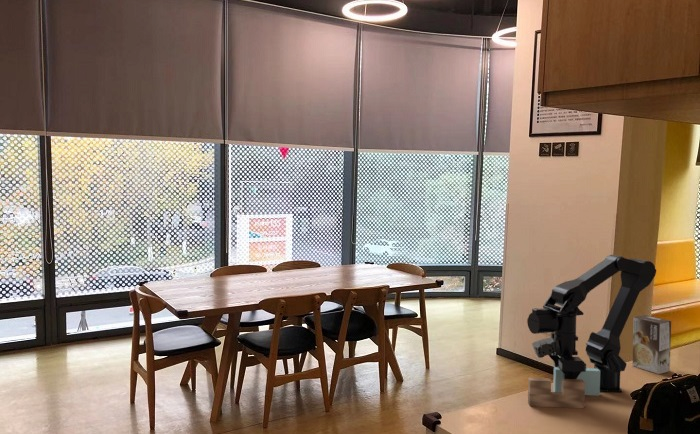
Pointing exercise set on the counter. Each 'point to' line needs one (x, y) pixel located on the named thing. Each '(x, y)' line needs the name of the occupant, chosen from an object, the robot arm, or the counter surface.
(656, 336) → the coffee box
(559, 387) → the teal slotted plate
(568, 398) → the walnut slotted plate
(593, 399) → the counter surface
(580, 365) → the robot arm
